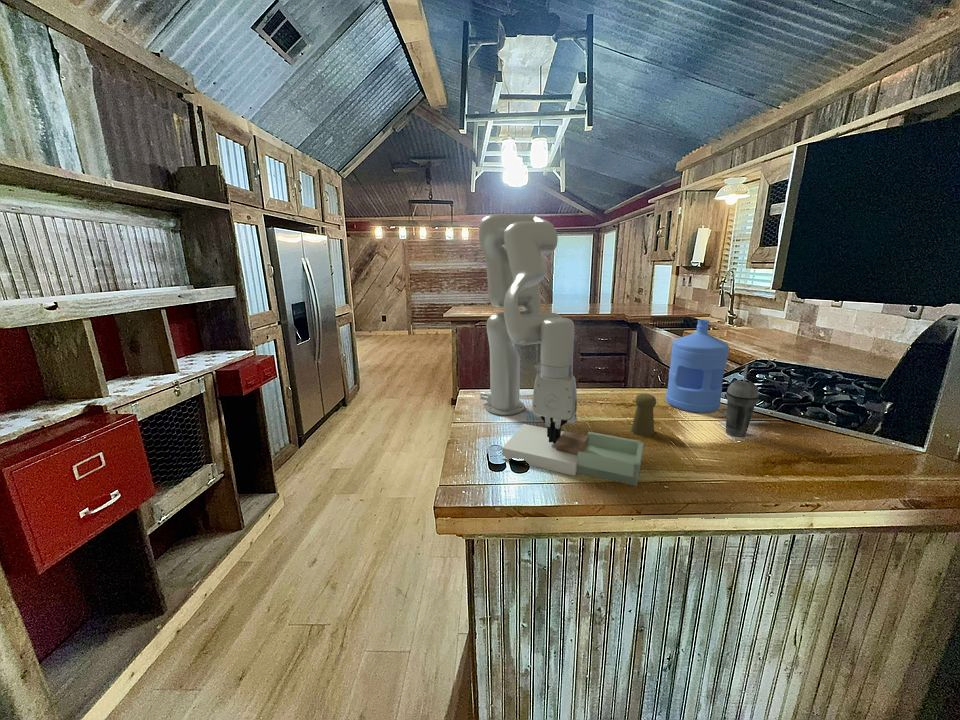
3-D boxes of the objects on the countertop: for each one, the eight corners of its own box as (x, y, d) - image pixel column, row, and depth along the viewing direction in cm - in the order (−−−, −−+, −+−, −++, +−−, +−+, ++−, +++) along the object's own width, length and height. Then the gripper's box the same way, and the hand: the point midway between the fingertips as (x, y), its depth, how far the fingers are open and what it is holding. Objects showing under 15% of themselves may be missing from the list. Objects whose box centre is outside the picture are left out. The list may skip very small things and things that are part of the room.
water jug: (657, 396, 133) (666, 316, 125) (703, 395, 132) (715, 316, 125) (678, 414, 118) (690, 325, 110) (730, 413, 117) (745, 324, 110)
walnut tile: (556, 450, 91) (556, 440, 91) (564, 439, 96) (565, 430, 96) (580, 456, 88) (581, 446, 88) (588, 445, 93) (588, 436, 92)
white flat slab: (502, 458, 94) (502, 447, 93) (523, 433, 107) (523, 423, 106) (575, 475, 86) (575, 464, 85) (588, 446, 99) (589, 436, 98)
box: (576, 472, 87) (577, 453, 86) (587, 449, 97) (588, 431, 96) (637, 486, 81) (639, 466, 80) (641, 460, 92) (643, 441, 90)
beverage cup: (753, 433, 104) (766, 363, 99) (748, 442, 99) (762, 369, 94) (723, 425, 109) (734, 358, 104) (717, 434, 104) (728, 364, 99)
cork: (629, 434, 105) (633, 397, 102) (632, 425, 110) (635, 390, 107) (653, 438, 102) (657, 400, 100) (655, 429, 108) (659, 393, 105)
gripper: (520, 370, 90) (520, 441, 94) (584, 378, 83) (580, 453, 88) (531, 362, 96) (530, 429, 101) (591, 369, 89) (587, 440, 94)
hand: (553, 440), depth 94 cm, fingers closed
